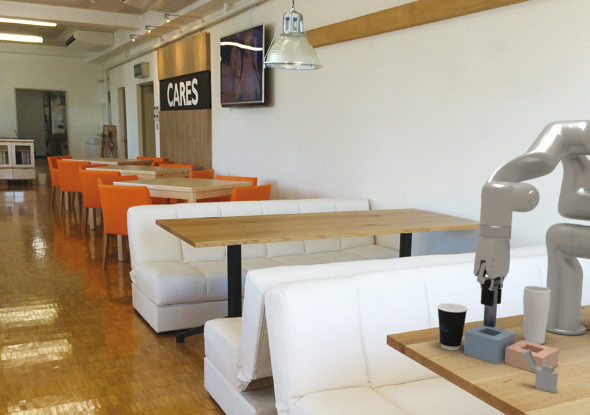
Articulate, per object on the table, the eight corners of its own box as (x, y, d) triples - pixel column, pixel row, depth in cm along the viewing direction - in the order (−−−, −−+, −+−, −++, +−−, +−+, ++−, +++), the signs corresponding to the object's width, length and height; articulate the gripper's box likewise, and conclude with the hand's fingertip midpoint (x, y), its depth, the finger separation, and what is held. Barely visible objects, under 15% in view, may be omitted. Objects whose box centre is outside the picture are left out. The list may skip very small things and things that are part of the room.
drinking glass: (550, 347, 145) (553, 292, 144) (523, 344, 146) (526, 290, 145) (544, 338, 152) (547, 286, 150) (518, 336, 153) (521, 284, 152)
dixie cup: (468, 345, 146) (470, 305, 144) (462, 354, 139) (464, 312, 138) (439, 340, 149) (440, 301, 148) (431, 348, 142) (433, 308, 141)
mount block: (521, 354, 139) (522, 339, 139) (557, 365, 132) (558, 349, 132) (504, 363, 133) (505, 347, 133) (541, 374, 126) (542, 358, 126)
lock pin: (486, 322, 140) (489, 276, 139) (500, 325, 138) (503, 279, 136) (478, 324, 138) (481, 278, 137) (492, 328, 135) (495, 281, 134)
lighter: (556, 390, 118) (558, 354, 117) (555, 393, 117) (557, 357, 116) (522, 382, 122) (524, 347, 121) (520, 384, 121) (522, 350, 120)
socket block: (482, 346, 145) (483, 324, 144) (514, 355, 138) (515, 332, 138) (464, 353, 139) (465, 331, 139) (496, 364, 132) (498, 340, 132)
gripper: (497, 228, 144) (493, 296, 145) (464, 232, 133) (460, 305, 135) (524, 232, 138) (520, 302, 140) (492, 236, 127) (488, 312, 129)
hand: (490, 303), depth 137 cm, fingers closed on lock pin, 3 cm apart
